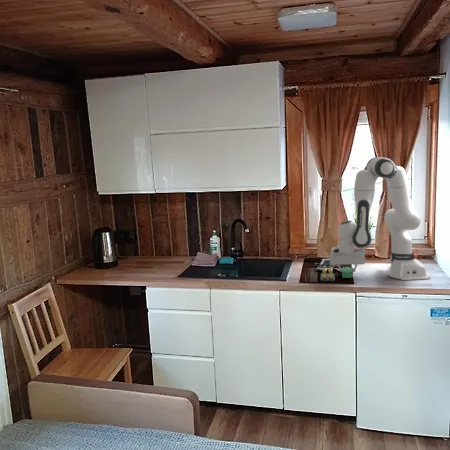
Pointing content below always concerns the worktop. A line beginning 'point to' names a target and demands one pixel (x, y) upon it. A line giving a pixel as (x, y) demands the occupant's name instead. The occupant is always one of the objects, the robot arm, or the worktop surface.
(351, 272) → the green board
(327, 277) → the chassis
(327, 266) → the graphics card
